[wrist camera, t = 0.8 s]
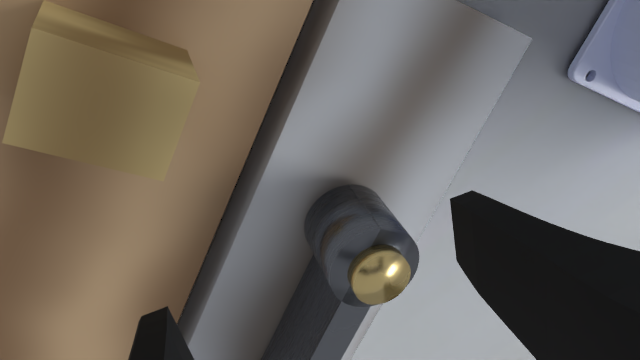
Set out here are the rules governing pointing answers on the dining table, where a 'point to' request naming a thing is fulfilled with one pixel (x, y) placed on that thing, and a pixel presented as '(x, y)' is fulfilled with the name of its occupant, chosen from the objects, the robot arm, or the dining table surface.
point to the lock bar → (343, 274)
